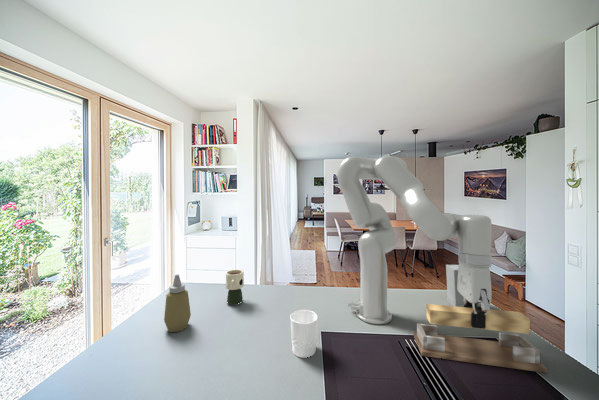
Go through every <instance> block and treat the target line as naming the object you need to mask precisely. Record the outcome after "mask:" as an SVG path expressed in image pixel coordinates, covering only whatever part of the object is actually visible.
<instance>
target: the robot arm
mask: <svg viewBox="0 0 599 400" xmlns="http://www.w3.org/2000/svg"><path fill="white" fill-rule="evenodd" d="M360 180H367V181H368V180H369V181H372V180H373V181H382V182H383V183H384V184H385V186H387V188H388V189H389V190H390V191H391V192H392V193H393V194H394V195H395V196H396V197H397V199H398V200H399V201H400V203H401V205H402V208H403V209H404V211H405V213H406V214H407V215H408V217H409V218H410V219H411V220H412V221H413V223H414V224H415V225H416V226H417V227H418V228H419V229H420V231H422V233H423V234H424V235H426V236H427V237H428V238H430V239H432V240H434V241H440V242H441V241H442V242H443V241H445V240H448V239H450V238H455V237H456V238H458V265H459V267H458V280H457V290H458V292H459V293H460V294H461V295H462V296H463V297H464V300H463V302H464V304H466V305H464V307H468V308H473V312H471V326H472V327H473V328H472V329H476V328H483V329H482V330H486V329H485V328H486V314H487V313H486V312H487V311H490V309H491V307H490V304H491V303H492V297H493V296H492V279H491V270H490V268H492V220H491V218H490V217H489V216H487V215H483V214H457V213H452V212H451V213H450V212H441V211H440V210H439V209H438V208H437V207H436V206H435V205H434V204H433V202H431V200H430V199H429V198H428V197H427V195H426V194H425V190H424V189H425V188H424V185H423V184H422V182H421V181H420V180H419V179H418V178H417V177H416V176H415V175H414V174H413V173H412V172H411V171H410V170H409V169H408V165H407V163H406V162H405V160H404V159H403V158H400V157H397V156H394V155H389V154H388V155H383V156H382V155H381V156H380V157H379V158H368V157H363V156H357V155H353V156H348V157H346V158H345V159H344V160H342V162H341V163H340V165H339V167H338V170H337V183H338V186H339V188H340V190H341V193H342V195H343V198H344V200H345V203H346V206H347V209H348V211H349V215H350V217H351V220H352V222H353V224H354V226H356V227H357V228H360V229H368V231H365V232H364V233H362V234H361V236H360V237H359V239H358V245H357V247H358V248H357V249H358V255H359V262H360V263H359V264H360V265H359V266H360V273H359V274H360V281H359V284H360V289H359V291H360V292H359V293H360V295H359V297H360V298H359V299H358V300H357V301H349V300H348V301H347V307H349V308H350V310H354V311H355V310H356V311H355V314H356V316H357V317H358V319H360V320H361V321H363V322H365V323H369V324H371V325H385V324H388V323H390V322H391V321H392V319H393V317H392V316H393V315H392V312H390V311H389V310H388V263H387V259H386V258H387V257H386V254H388V253H390V252H392V251H393V250H394V249H395V248H396V246H397V243H398V238H397V235H396V232H395V229H394V227H393V225H392V223H391V220H390V218H389V215H388V214H387V211H386V209H385V208H384V207H383V205H381V204H379V203H377V202H371V201H370V198H369V196H368V193H367V191H366V189H365V188H364V186H363V184H362V183H361V181H360ZM477 305H478V306H477ZM479 305H480V306H479Z"/></svg>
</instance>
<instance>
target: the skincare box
mask: <svg viewBox="0 0 599 400" xmlns="http://www.w3.org/2000/svg"><path fill="white" fill-rule="evenodd" d="M458 267H459V264H445V270H446V271H445V274H446V292H447V294H446V295H447V296H446V297H447V302H448V303H449V304H450V306H457V307H464V305H466V304H464V302H463V300H464V297H463V296H462V295H461V294H460V293H459V292H458V290H457V280H458Z"/></svg>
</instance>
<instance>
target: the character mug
mask: <svg viewBox="0 0 599 400" xmlns="http://www.w3.org/2000/svg"><path fill="white" fill-rule="evenodd" d="M244 275H245V274H244V270H242V269H230V270H227V271H226V272H225V289H227V290H228V292H227V298H226V299H227V301H226V303H227V302H228V303H229V304H228V303H227V304H228V305H232V304H238V303H240V302H242V303H243V300H244V299H243V292H242V288H244V283H245V281H244V280H245V279H244V278H245V277H244ZM242 299H243V300H242ZM238 305H239V304H238Z"/></svg>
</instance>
